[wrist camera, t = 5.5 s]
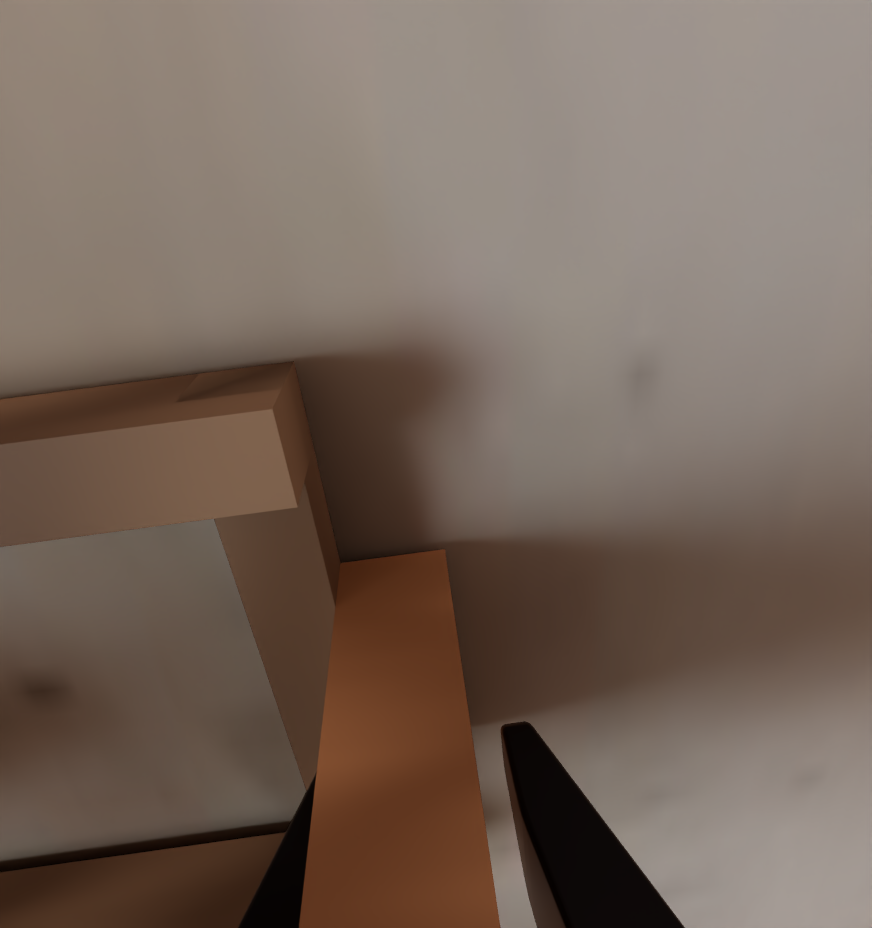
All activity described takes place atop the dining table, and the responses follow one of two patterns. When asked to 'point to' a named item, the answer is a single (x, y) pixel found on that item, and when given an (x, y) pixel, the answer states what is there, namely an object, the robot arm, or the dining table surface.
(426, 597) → the wooden tray
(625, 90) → the dining table surface
